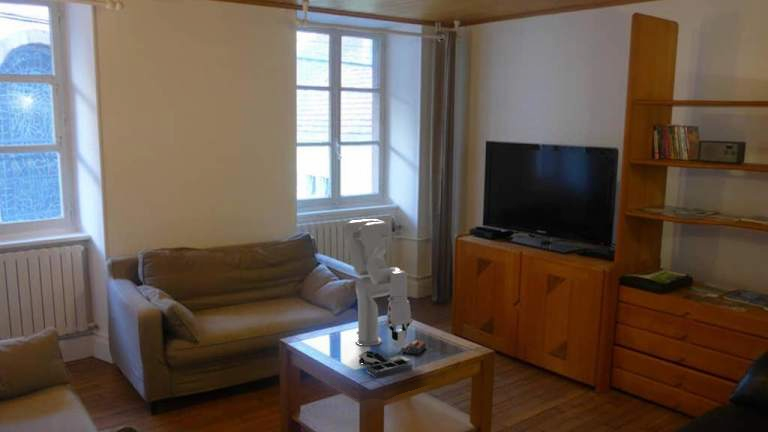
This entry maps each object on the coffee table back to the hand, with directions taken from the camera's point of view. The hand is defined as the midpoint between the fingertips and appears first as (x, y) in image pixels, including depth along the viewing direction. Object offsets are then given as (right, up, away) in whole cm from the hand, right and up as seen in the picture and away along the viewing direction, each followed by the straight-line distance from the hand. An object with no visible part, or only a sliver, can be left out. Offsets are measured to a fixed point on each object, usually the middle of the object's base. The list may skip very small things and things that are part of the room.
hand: (399, 338), depth 301 cm
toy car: (-12, -11, -3) cm, 17 cm away
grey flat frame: (-4, -12, -11) cm, 17 cm away
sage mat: (0, -10, +2) cm, 10 cm away
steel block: (0, -3, 0) cm, 3 cm away
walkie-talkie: (+6, -9, +12) cm, 16 cm away
